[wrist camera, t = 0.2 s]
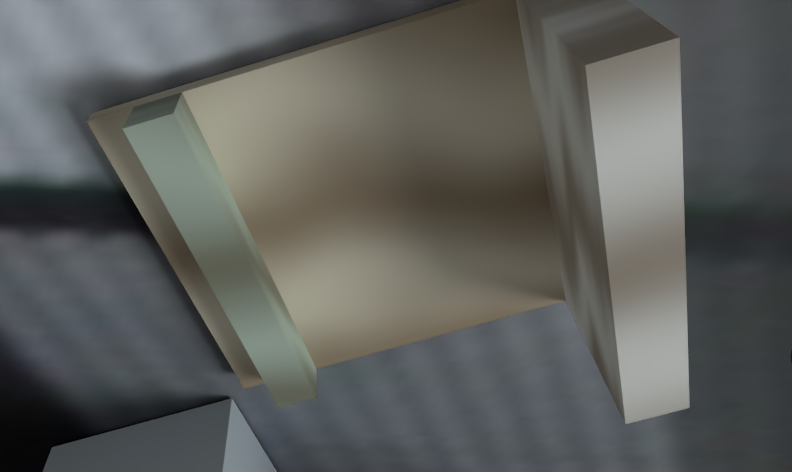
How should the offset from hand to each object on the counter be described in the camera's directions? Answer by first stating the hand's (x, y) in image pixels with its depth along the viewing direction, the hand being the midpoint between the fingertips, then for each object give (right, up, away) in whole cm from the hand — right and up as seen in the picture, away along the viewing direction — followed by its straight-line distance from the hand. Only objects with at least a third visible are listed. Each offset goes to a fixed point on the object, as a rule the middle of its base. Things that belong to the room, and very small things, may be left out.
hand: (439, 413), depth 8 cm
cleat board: (0, +3, +15) cm, 15 cm away
